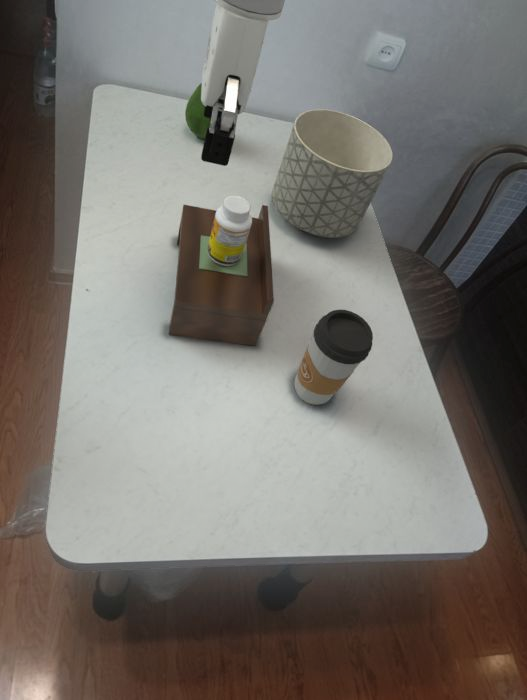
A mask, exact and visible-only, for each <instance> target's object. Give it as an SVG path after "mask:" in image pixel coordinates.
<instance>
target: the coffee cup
mask: <svg viewBox="0 0 527 700" xmlns="http://www.w3.org/2000/svg"><path fill="white" fill-rule="evenodd" d="M373 334H374V333H373V330H372V328H371V325H369V323H368V322H367V321H366V320H365V319H364V318H363V317H362V316H361V315H360V314H358V313H355V312H353V311H351V310H347V309H334V310H331V311H329V312H328V313H326V314H325V315H323V316H322V317H321V318H320V319H319V321H318V322H317V323H316V324H315V326H314V329H313V334H312V337H311V339H310V342H309V344H308V345H307V348H306V350H305V352H304V355H303V357H302V360H301V362H300V365H299V367H298V370H297V372H296V374H295V375H296V376H295V378H294V383H293V385H294V390H295V392H296V394H297V396H298V397H299V398H300V399H301V401H303V402H304V403H307V404H309V405H312V406H317V405H318V406H319V405H323V404H326V403H327V402H329V401H330V400H331V399H332V398H333V396H334V395H335V394H336V393H337V392H338V391H339V390H340V389H341V387H342V386H343V385H344V384H345V383H346V382H347V381H348V379H349V378H350V377H351V376H352V374H354V371H356V369H357V367H358V366H359V365H360V364H361V363H362V362H363V361H365V360H366V359H367V358H368V356H369V354H370V352H371V351H372V348H373V339H374V335H373Z"/></svg>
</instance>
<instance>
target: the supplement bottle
mask: <svg viewBox="0 0 527 700" xmlns="http://www.w3.org/2000/svg"><path fill="white" fill-rule="evenodd" d="M250 212H251V204H250V201H248V200H247V199H246V198H244V197H242V196H240V195H230V196H227V197H226V198H225V199H224V200H223V204H222V205H220V206H219V207H218V208H217V210H216V214H215V218H214V223H213V227H212V231H211V236H210V240H209V245H208V255H209V257H210V258H211V259H212V260H213V261H214V262H215V263H217V264H220V265H223V266H232V265H235V264H237V263H238V262H239V261H240V260H241V257H242V254H243V251H244V248H245V244H246V241H247V238H248V234H249V231H250V228H251V225H252V215H251V213H250Z"/></svg>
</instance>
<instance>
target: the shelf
mask: <svg viewBox="0 0 527 700" xmlns="http://www.w3.org/2000/svg"><path fill="white" fill-rule="evenodd" d="M216 211H217V210H215V209H210V208H206V207H198V206H195V205H194V206H193V205H189V204H183V205H182V210H181V216H180V223H179V226H178V227H179V228H178V232H177V233H178V234H177V239H176V246H178V256H177V265H176V267H177V268H176V278H175V279H176V280H175V289H174V290H175V291H174V301H173V305H172V312H171V315H170V316H171V317H170V321H169V326H168V335H170V336H177V337H183V338H190V339H191V338H192V339H199V340H207V341H214V342H222V343H230V344H235V345H236V344H237V345H245V346H251V347H256V346H257V344H258V342H259V339H260V337H261V334H262V332H263V329H264V327H265V324H266V322H267V320H268V317H269V315H270V312H271V309H272V307H273V305H274V302H275V298H274V296H275V295H274V282H273V281H274V279H273V264H272V250H271V249H272V248H271V231H270V217H269V206H268V205H266V204H262V205H261V207H260V211H259V214H258V218H257V217H252V216H251V217H252V225H251V228H250V231H249V234H248V238H247V241H246V244H245V248H244V251H243V254H242V257H241V260H240V261H239V262H238V263H237V264H235V265H232V266H223V265H220V264H217V263H215V262H214V261H213V260H212V259H211V258H210V257H209V255H208V245H209V240H210V236H211V231H212V227H213V223H214V218H215V214H216Z"/></svg>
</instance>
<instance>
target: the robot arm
mask: <svg viewBox="0 0 527 700" xmlns="http://www.w3.org/2000/svg"><path fill="white" fill-rule="evenodd" d="M214 1H215V2H216V6H215V9H214V14H213V18H212V24H211V29H210V32H209V33H210V34H209V39H208V44H207V49H206V53H205V59H204V63H203V67H202V75H201V76H202V77H201V83H202V88H201V101H202V103H203V105H204V106H205V109H204V116H205V117H207V118H211V124H210V128H208V127H207V131H206V136H205V139H204V141H203V146H202V150H201V156H200V157H201V158H200V159H201V161H202V162H206V163H210V164H215V165H218V166H223V167H226V166H228V165H229V162H230V158H231V154H232V150H233V146H234V142H235V138H236V128H237V122H238V116H239V115H241V114H243V113H244V112H245V109H246V107H247V104H248V101H249V97H250V94H251V90H252V88H253V83H254V79H255V76H256V73H257V68H258V65H259V60H260V56H261V52H262V48H263V44H264V40H265V37H266V32H267V27H268V24H269V21H274V20H277V19H279V18H280V17H281V15H282V13H283V9H284V5H285V1H286V0H214Z"/></svg>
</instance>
